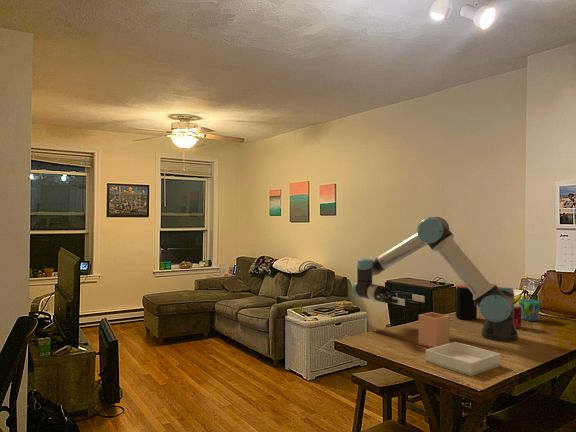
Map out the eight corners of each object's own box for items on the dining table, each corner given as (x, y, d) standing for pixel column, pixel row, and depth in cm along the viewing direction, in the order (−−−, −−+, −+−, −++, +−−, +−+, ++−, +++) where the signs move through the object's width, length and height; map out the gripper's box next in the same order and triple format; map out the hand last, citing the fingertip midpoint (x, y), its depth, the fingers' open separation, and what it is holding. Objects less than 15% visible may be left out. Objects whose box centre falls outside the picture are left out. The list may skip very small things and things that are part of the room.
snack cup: (523, 315, 247) (524, 297, 247) (545, 319, 240) (545, 300, 240) (513, 320, 236) (513, 301, 236) (535, 324, 229) (535, 304, 229)
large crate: (455, 352, 181) (455, 341, 181) (500, 365, 166) (500, 353, 166) (425, 361, 170) (425, 349, 170) (470, 376, 155) (470, 363, 155)
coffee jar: (478, 321, 235) (478, 287, 234) (457, 320, 237) (457, 286, 237) (474, 316, 245) (474, 283, 245) (454, 315, 247) (454, 283, 247)
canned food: (500, 325, 227) (500, 303, 227) (515, 324, 227) (515, 303, 227) (508, 328, 219) (509, 306, 219) (524, 328, 220) (524, 306, 220)
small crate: (431, 341, 197) (431, 312, 197) (449, 346, 190) (449, 316, 190) (418, 345, 192) (418, 314, 192) (436, 350, 185) (436, 318, 184)
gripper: (396, 298, 224) (431, 306, 206) (360, 303, 209) (395, 312, 192) (396, 283, 223) (432, 289, 206) (360, 287, 209) (395, 295, 192)
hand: (414, 300), depth 199 cm, fingers open, 13 cm apart
